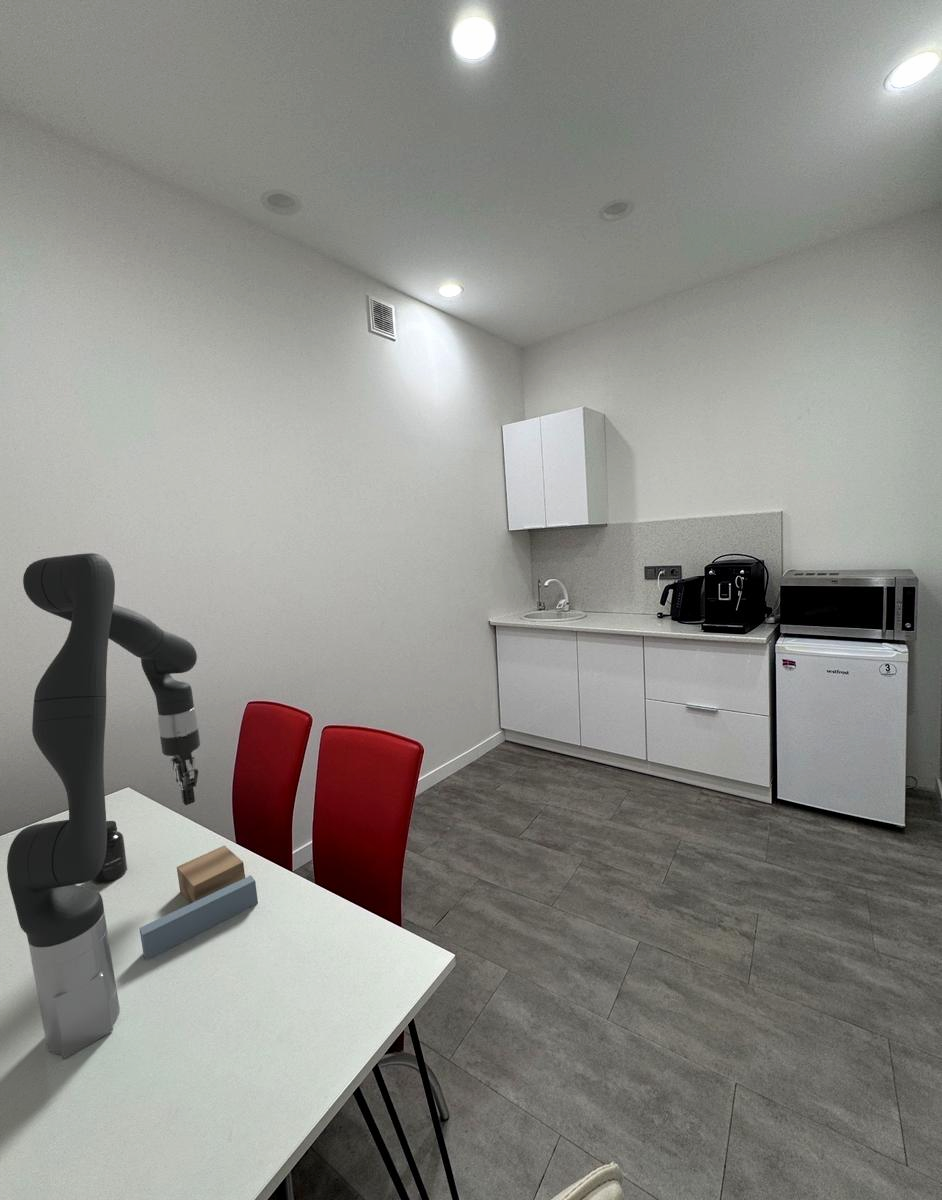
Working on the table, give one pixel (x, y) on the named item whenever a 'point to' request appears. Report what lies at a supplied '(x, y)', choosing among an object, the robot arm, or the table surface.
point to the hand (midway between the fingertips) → (189, 802)
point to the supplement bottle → (112, 856)
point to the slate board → (197, 917)
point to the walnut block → (209, 873)
